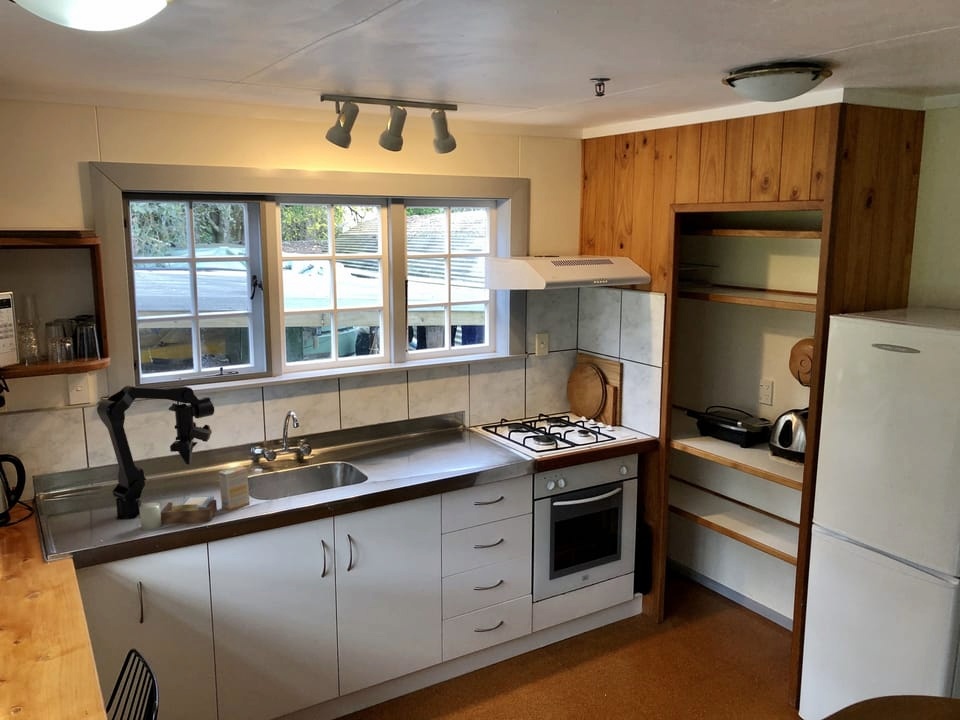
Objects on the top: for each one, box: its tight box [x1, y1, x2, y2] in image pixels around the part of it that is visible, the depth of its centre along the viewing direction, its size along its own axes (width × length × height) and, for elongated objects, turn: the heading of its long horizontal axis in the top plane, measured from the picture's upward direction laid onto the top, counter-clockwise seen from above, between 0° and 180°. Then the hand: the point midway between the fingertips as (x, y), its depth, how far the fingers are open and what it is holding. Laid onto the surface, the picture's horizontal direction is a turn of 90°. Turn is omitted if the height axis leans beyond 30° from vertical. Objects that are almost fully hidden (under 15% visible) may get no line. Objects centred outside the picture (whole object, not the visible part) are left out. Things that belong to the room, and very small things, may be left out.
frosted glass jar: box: [139, 502, 163, 531], centre depth 242 cm, size 6×6×7 cm
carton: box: [179, 495, 215, 509], centre depth 252 cm, size 9×11×5 cm
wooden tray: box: [160, 499, 218, 525], centre depth 249 cm, size 15×10×6 cm, turn 97°
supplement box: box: [218, 465, 251, 511], centre depth 259 cm, size 8×5×13 cm, turn 141°
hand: (188, 464), depth 269 cm, fingers closed
